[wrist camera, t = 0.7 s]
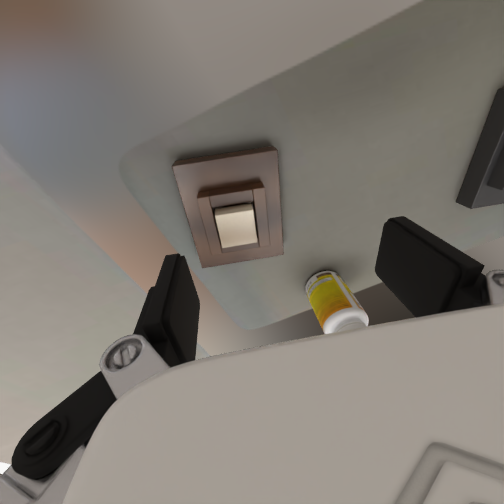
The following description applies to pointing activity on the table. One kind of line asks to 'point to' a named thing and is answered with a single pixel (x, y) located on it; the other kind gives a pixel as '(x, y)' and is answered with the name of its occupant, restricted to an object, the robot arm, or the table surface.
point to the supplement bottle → (334, 303)
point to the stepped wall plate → (487, 162)
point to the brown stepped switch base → (232, 201)
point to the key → (236, 225)
